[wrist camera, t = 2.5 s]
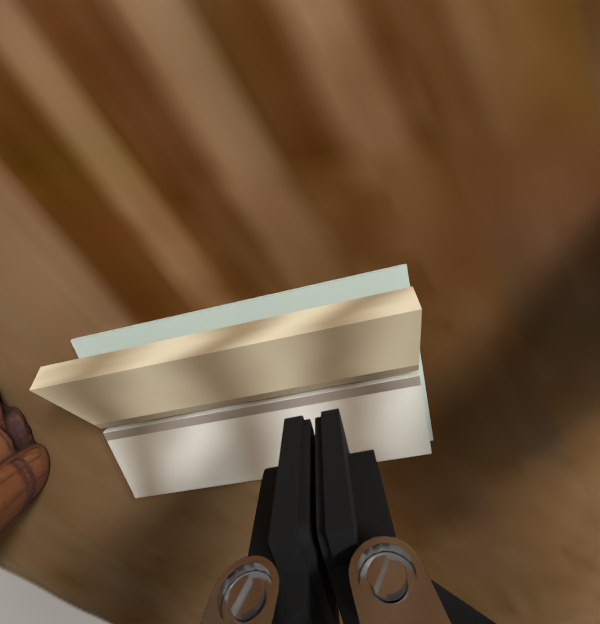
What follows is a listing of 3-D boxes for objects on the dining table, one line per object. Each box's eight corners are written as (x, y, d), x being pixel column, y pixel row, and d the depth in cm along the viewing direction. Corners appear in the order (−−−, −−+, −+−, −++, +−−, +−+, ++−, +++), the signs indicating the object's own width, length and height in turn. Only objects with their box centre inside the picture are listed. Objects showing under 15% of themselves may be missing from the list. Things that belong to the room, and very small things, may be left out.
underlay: (405, 263, 19) (406, 264, 19) (432, 437, 22) (433, 440, 22) (73, 338, 22) (70, 340, 21) (142, 482, 25) (140, 485, 25)
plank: (412, 286, 16) (421, 309, 15) (411, 349, 20) (418, 370, 19) (40, 367, 18) (29, 390, 18) (107, 408, 23) (101, 428, 22)
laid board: (413, 363, 20) (419, 375, 19) (425, 438, 22) (431, 453, 21) (115, 419, 23) (102, 432, 22) (145, 482, 25) (135, 498, 23)
